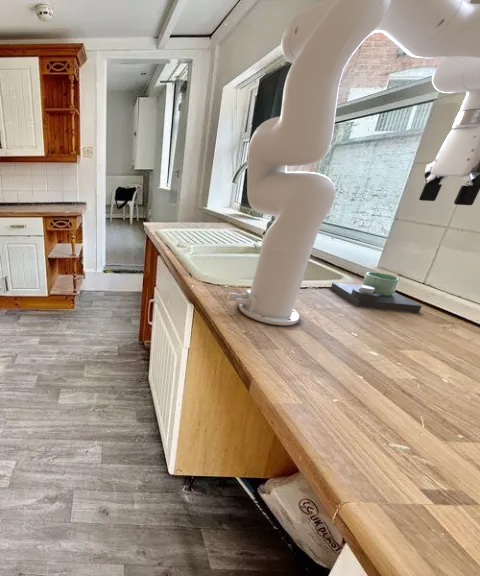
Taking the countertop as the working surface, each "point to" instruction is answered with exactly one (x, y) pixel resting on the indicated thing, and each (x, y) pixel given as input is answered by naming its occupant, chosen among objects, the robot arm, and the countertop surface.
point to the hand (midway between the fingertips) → (443, 202)
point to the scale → (374, 298)
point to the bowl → (381, 282)
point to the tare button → (367, 289)
